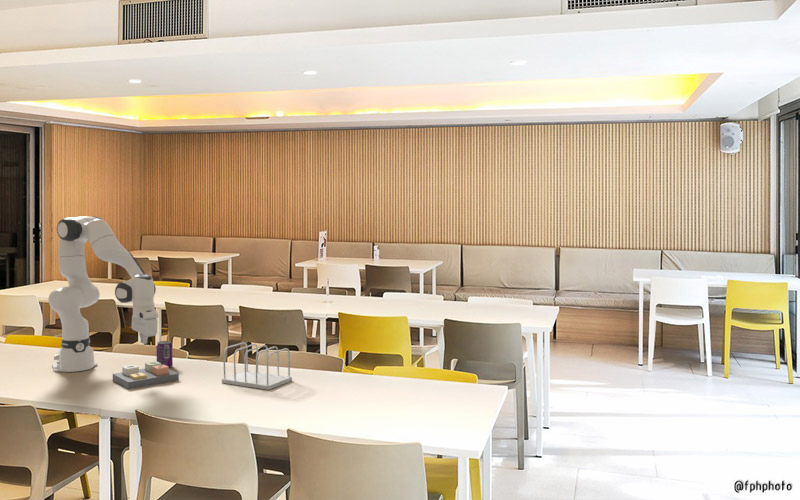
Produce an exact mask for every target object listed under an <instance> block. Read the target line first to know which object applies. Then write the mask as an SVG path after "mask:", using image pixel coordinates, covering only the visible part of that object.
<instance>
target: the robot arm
mask: <svg viewBox="0 0 800 500" xmlns="http://www.w3.org/2000/svg"><path fill="white" fill-rule="evenodd" d="M56 234H57V236H58V237H59V239H58V245H57V246H58V249H57V250H58V251H57V253H58V267H59V268H58V269H59V273H60V276H62V277H64V278H65V279H66V281H67V282H68V286H63V287H59V288H57V289H55V290H53V291H51V292H50V293H49V294H48V297H47V298H48V305H49V306H50V308H51V309H52V310H54V312H55V313H57V315H58V317H59V319H60V323H61V331H62V333H61V334H62V338H61V342H60V344H61V345H60V349H59V350H58V352H57V353H56V354H55V355H54V356H53V357H54V358H53V360H54V361H56V362H52V364H51V366H52V369H53V371H54V372H55V373H56V372H64V373H65V372H66V373H70V372H71V373H72V372H73V373H74V372H81V371H87V370H91V369H93V368H95V367H97V366H98V362H95V354H94V348H92V347H91V346H90V345H91V338H90V336H89V335H90V333H89V332H90V331H89V328H90V327H89V321H88V319H86V318H85V317H84V316H82V313H81V309H82V308H88V307H90V306H92V305H94V304H96V303H97V302H98V301H99V299H100V290H99V288H98V287H97V286H96V285H94V283H92V281H91V280H90V277H89V275H88V271H87V263H86V254H85V252H86V251H85V245H86V244H85V243H87V241H88V242H89V245H90V248H91V249H92V252H93V253H94V254H95V256H96V257H97V258H98V259H99V260H101V261H103V262H107V263H111V264H115V265H118V266H120V267H122V268H123V269H125V271H126V272H127V274H128V275H129V276H130V279H128V280H124V281H121V282H119V283H117V285H116V286H115V289H114V295H115V298H116V300H117V301H118V302H120V303H121V304H129V303H130V304H131V303H132V316H131V329H132V331H135V332H138V333H139V334H138V335H139V338H140V343H142V344H143V345H145V344H147V345H148V338H150V337H156V336H157V335H158V318H159V313H158V312H157V310H156V307H155V302H154V298H155V294H156V288H157V287H156V284H155V283H154V279H153V277H152V276H151V275H149V274H146V272H145V271H144V270H143V268H142V267H141V266H140V264H139V262H138V261H137V259H136V258H135V257H134V255H133V254H132V253H131V251H129V250H128V249H127V248H125V247H124V246H123V245H122V244H121V242H120V241H119V240H118V238H117V236H116V235H115V233H114V231H113V230H112V228H111V227H110V225H109V224H108V223H107V221H106V220H104V219H103V218H101V217H99V216H89V215H88V216H86V215H85V216H84V215H83V216H82V215H81V216H77V217H76V216H75V217H74V216H73V217H65V218H62V219H60V220H59V221H58V223H57V225H56Z"/></svg>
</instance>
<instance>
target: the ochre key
mask: <svg viewBox="0 0 800 500" xmlns="http://www.w3.org/2000/svg"><path fill="white" fill-rule="evenodd" d="M130 378H131V379H133V380H137V379H143V378H146V375H145V374H143V373H136V374H130Z"/></svg>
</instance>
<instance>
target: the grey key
mask: <svg viewBox="0 0 800 500" xmlns="http://www.w3.org/2000/svg"><path fill="white" fill-rule="evenodd" d="M139 369H140V367H139V366H138V365H136V364H131V365H130V364H129V365H125V366H122V370H121V371H122V374H124V375H126V376H130V374H136V373H139Z"/></svg>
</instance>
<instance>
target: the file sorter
mask: <svg viewBox="0 0 800 500" xmlns="http://www.w3.org/2000/svg"><path fill="white" fill-rule="evenodd" d="M241 345H245V346H242V347H239V348H237V349H235V351H234V353H233V373H234V374H233V375H230V376H227V377H226V351H227V349H230V348H234V347H237V346H241ZM253 346H255V347H254V348H253ZM249 347H252V348H250V349H248V348H249ZM264 347H265V349H263V350H259V349H260V348H264ZM243 349H245V353H244V357H243V358H244V361H243V362H244V365H243V366H244V371H242V372H239V373H237V371H236V370H237V369H236V354H237V352H238V351H240V350H243ZM272 349H276V350H274V351H271V352H270V353H269V350H272ZM255 350H256V355H255V371H251V370H249V361H248V360H249V359H248V358H249V356H248V355H249V354H248V353H249V352H251V351H255ZM282 351H287V365H288V367H287V374H288V376H286V375H280V359H279V358H280V357H279V353H280V352H282ZM264 352H266V372H265V373H264V372H260V371H259V355H260V354H261V353H264ZM290 353H291V352H290V350H289V348H287V347H286V348H282V349H279V348H278V347H277V346H271V347H269V348H268V346H267V345H265V344H263V345H259V346H258V345H257V344H256V343H252V344H249V345H248V344H247V342H245V341H244V342H239V343H236V344H232V345H229V346H226V347H225V348H224V350H223V378H222V379H221V383H222V384H227V385H234V386H239V387H240V386H242V387H248V388H256V389H261V390H266V391H268V390H272V389H275V388H277V387H279V386H282V385H285V384H287V383H291V382H292V381H293V377H292V376H291V358H290V357H291V354H290ZM273 354H276V361H277V363H276V367H277V368H276V369H277V374H273V373H270V371H269V358H270V356H271V355H273Z"/></svg>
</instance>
